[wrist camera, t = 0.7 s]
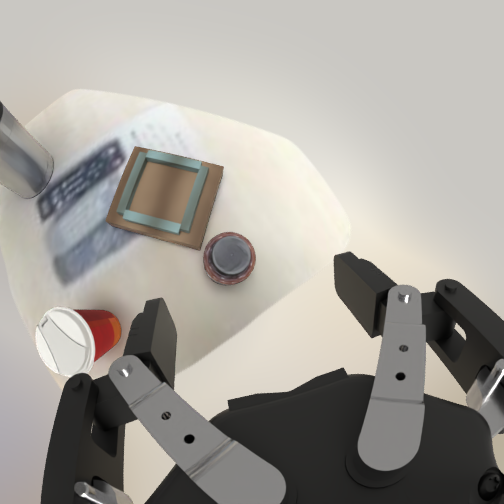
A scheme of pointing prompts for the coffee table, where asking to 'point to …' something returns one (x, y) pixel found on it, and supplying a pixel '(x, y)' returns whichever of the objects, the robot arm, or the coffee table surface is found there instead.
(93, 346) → the paper cup
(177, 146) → the coffee table surface
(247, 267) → the supplement bottle
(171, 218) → the walnut foundation
